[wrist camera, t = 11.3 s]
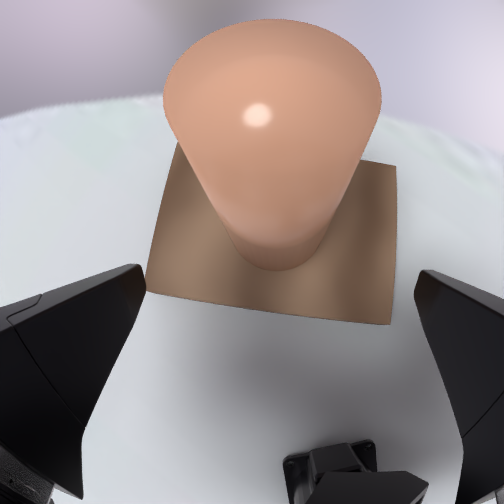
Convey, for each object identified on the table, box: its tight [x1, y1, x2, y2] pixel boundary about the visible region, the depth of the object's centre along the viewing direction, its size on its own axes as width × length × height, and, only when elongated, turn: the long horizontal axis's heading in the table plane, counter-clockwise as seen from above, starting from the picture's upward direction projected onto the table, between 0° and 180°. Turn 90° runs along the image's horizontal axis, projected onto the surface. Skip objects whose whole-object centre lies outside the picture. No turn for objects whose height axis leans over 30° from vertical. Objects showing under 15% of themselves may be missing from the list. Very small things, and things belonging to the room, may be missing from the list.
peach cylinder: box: [163, 19, 382, 271], centre depth 14 cm, size 6×6×13 cm
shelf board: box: [145, 142, 397, 325], centre depth 21 cm, size 16×11×2 cm
